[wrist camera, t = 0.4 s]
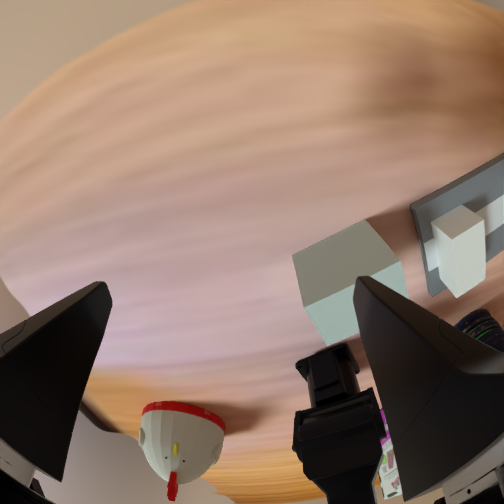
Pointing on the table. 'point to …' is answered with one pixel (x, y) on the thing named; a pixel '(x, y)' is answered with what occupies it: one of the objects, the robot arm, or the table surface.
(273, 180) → the table surface
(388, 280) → the block
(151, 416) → the kitchen timer
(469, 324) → the storage jar
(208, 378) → the table surface
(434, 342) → the robot arm
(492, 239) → the board
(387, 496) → the candy bar box
